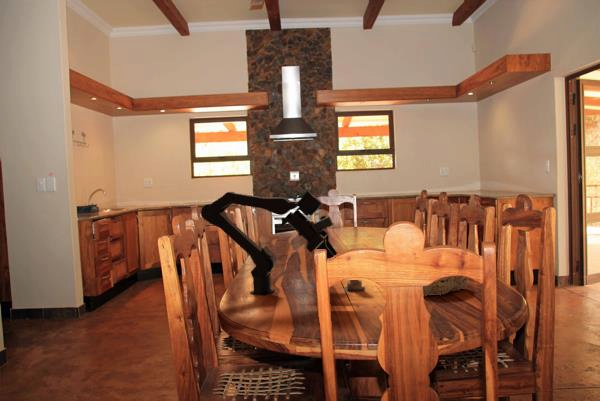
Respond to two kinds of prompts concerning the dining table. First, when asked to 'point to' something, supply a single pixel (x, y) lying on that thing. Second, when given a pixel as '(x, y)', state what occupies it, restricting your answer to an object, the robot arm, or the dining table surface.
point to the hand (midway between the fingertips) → (335, 257)
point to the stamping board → (354, 291)
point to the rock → (446, 285)
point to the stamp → (354, 285)
